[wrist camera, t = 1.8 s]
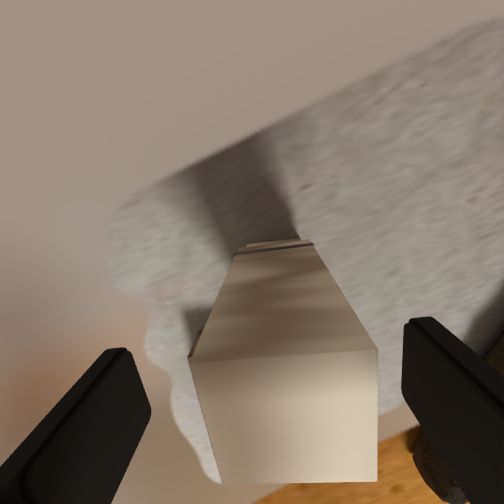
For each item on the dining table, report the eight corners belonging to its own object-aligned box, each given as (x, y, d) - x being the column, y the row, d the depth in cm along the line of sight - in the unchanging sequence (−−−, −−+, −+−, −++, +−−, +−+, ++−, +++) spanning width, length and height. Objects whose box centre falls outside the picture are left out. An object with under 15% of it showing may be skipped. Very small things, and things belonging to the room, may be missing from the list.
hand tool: (525, 268, 17) (615, 301, 13) (575, 288, 17) (681, 328, 13) (383, 442, 23) (410, 506, 18) (422, 456, 23) (457, 522, 19)
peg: (305, 231, 17) (380, 347, 6) (310, 290, 18) (378, 482, 7) (240, 239, 17) (186, 361, 6) (250, 296, 19) (220, 484, 7)
